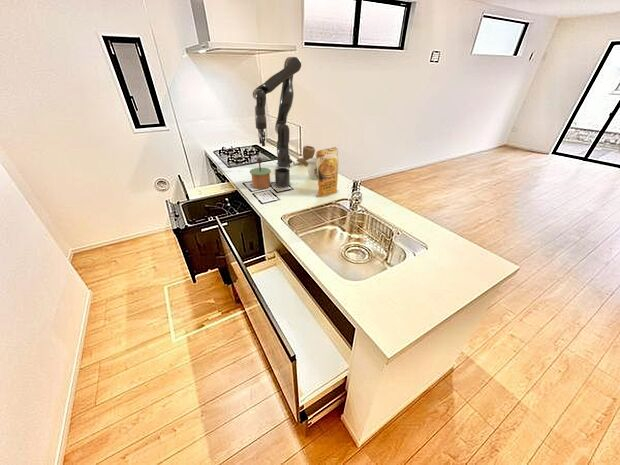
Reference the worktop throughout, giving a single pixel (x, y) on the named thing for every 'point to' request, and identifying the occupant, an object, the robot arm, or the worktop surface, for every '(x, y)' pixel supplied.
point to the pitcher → (312, 168)
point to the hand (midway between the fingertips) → (262, 144)
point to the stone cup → (306, 155)
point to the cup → (282, 177)
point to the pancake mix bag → (327, 171)
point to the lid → (260, 169)
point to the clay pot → (261, 181)
